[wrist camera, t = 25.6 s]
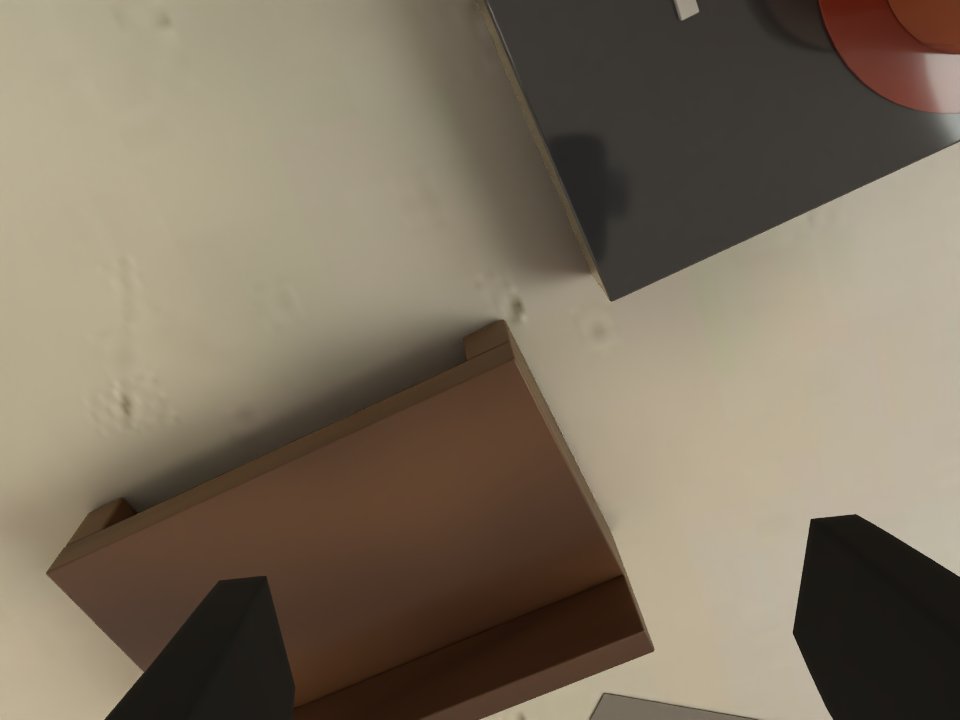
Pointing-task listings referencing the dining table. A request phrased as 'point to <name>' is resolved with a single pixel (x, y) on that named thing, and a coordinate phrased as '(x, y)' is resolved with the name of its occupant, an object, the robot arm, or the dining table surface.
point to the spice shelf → (390, 553)
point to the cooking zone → (891, 56)
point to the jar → (931, 22)
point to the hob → (694, 122)
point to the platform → (650, 711)
